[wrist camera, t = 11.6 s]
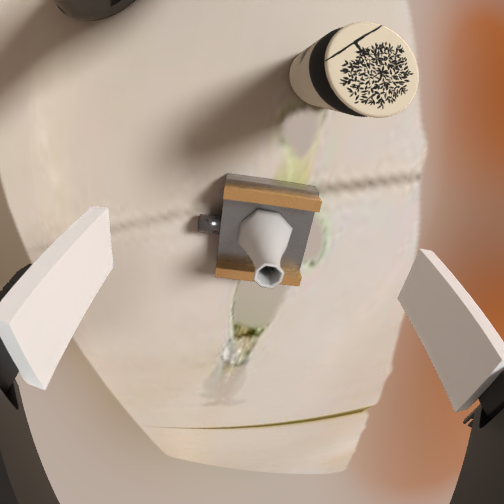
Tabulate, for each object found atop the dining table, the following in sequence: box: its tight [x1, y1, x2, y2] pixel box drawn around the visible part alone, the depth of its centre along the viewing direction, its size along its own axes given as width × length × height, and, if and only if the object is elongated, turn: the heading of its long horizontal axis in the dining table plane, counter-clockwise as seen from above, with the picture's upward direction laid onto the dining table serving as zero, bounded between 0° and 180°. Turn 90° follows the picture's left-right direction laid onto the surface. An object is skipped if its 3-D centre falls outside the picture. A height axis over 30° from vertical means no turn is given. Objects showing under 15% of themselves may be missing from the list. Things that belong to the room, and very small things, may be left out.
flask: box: [237, 209, 293, 289], centre depth 36 cm, size 7×7×10 cm
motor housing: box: [198, 173, 322, 286], centre depth 41 cm, size 14×15×4 cm
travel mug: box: [289, 22, 419, 118], centre depth 24 cm, size 8×8×18 cm
